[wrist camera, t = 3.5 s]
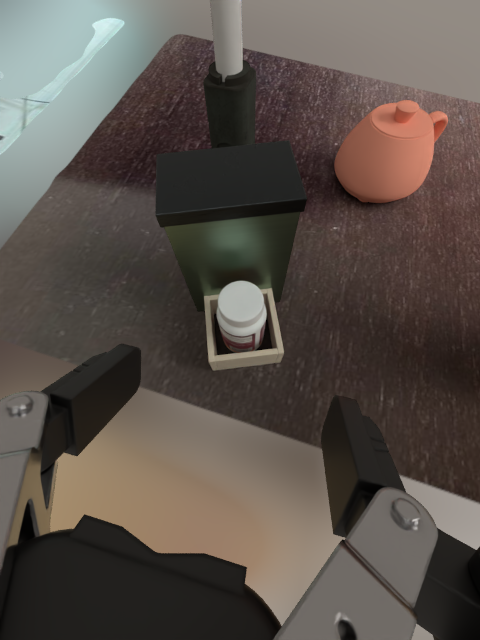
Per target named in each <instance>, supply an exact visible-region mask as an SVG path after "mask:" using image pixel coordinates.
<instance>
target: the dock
mask: <svg viewBox="0 0 480 640" xmlns="http://www.w3.org/2000/svg"><path fill="white" fill-rule="evenodd" d="M261 292H262V294H263V297H264V304H265V307H266V311H267V320H268V326H269V331H270V337H271V343H272V348H273V349H266V350H258V351H249V352H241V353H233V354H225V355H217V347H216V335H215V323H214V314H216V313H217V308H218V297H219V294H218V295H210V296H204V303H205V317H206V332H207V346H208V360H209V364H210V366H211V367H212V369H213V371H215V370H223V369H231V368H239V367H247V366H255V365H263V364H271V363H280V362H281V359H282V357H283V354H284V349H283V344H282V339H281V334H280V328H279V323H278V318H277V313H276V308H275V303H274V298H273V292H272V288H269V289H261Z"/></svg>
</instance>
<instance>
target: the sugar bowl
mask: <svg viewBox="0 0 480 640" xmlns="http://www.w3.org/2000/svg"><path fill="white" fill-rule="evenodd" d="M435 122H436V124H435V125H434V127H433V123H435ZM447 123H448V117H447V116H446V114H445V113H443V112H441V111H435V112H432V113H430V114H427V113H426V112H425V111H423V110H422V109H420V108H419V105H418V104H417V103H415V102H413V101H410V100H402V101H399V102H398V103H389V104H384V105H381V106H379V107H377V108H376V109H374V110H373V111H372V112H370V113H369V114H368V115H367V116H366V117H365V118H364V119H363V120H362V121H361V122H360V123H358V124H357V125H356V126H355V127H354V129H353V130H352V131H351V132H350V133H349V135H348V136H347V137H346V139H345V140H344V142H343V143H342V145H341V147H340V149H339V151H338V153H337V156H336V158H335V164H334V167H335V173H336V176H337V178H338V180H339V181H340V183H341V185H342V186H343V188H344V189H345V190H346V191H347V192H348V193H350V194H351V195H352V196H354V197H356V198H358V199H359V200H360V201H361V202H372V203H387V202H391V201H395V200H398V199H401V198H404V197H406V196H408V195H410V194H412V193H413V192H415V191H416V190H417V189H418V188H419V187H420V186H421V184H422V183H423V181H424V180H425V178H426V176H427V173H428V171H429V169H430V166H431V162H432V158H433V152H434V142H435V141H436V140H437V139H438V137H439V136H440V135H441V133H442V132H443V131H444V129H445V127H446V125H447Z"/></svg>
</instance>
